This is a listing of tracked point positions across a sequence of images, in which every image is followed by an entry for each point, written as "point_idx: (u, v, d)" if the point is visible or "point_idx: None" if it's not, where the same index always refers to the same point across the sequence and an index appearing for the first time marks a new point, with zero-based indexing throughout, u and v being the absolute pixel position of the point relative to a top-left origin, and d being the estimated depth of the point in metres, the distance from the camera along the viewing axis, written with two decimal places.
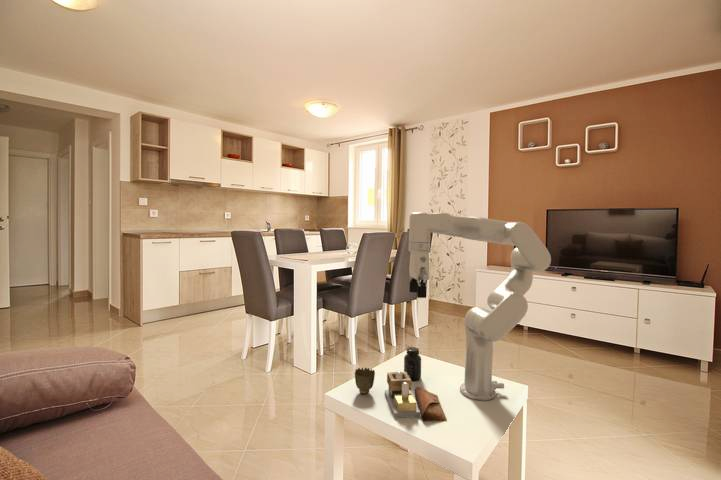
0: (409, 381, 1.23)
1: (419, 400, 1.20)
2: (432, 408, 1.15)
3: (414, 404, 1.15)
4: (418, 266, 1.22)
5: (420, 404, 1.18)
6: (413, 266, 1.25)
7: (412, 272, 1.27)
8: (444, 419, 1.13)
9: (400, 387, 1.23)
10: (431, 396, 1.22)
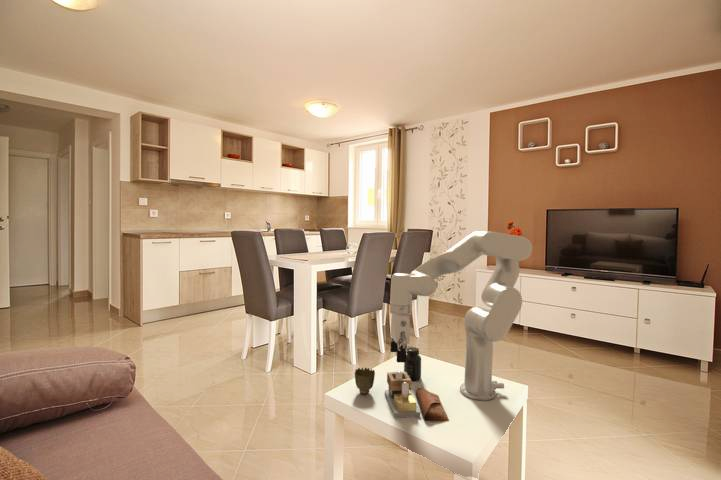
0: (409, 381, 1.23)
1: (421, 400, 1.20)
2: (434, 408, 1.15)
3: (414, 404, 1.15)
4: (398, 330, 1.20)
5: (422, 404, 1.17)
6: (394, 329, 1.23)
7: (393, 334, 1.25)
8: (446, 419, 1.13)
9: (400, 387, 1.23)
10: (432, 396, 1.22)
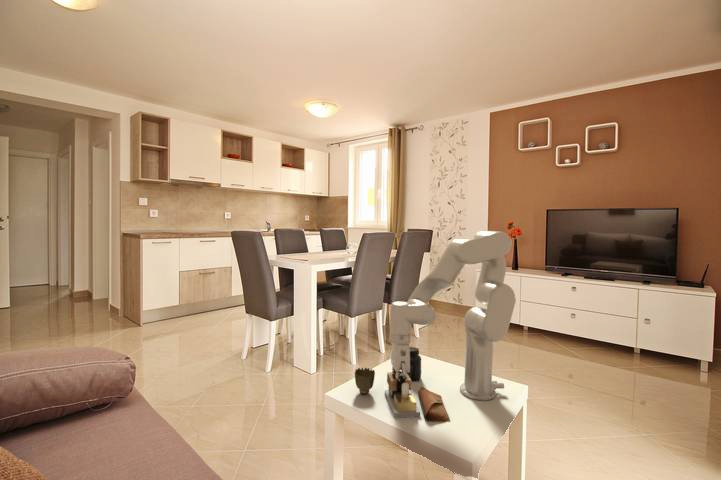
0: (409, 381, 1.23)
1: (422, 400, 1.20)
2: (435, 408, 1.15)
3: (414, 404, 1.15)
4: (398, 360, 1.21)
5: (423, 404, 1.17)
6: (394, 358, 1.24)
7: (393, 363, 1.25)
8: (447, 419, 1.13)
9: None
10: (434, 396, 1.22)
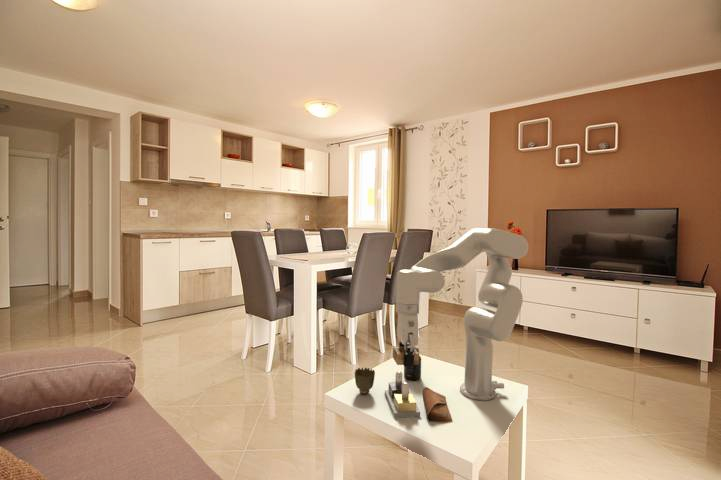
0: (417, 355, 1.14)
1: (425, 400, 1.20)
2: (438, 409, 1.15)
3: (414, 404, 1.15)
4: (406, 331, 1.11)
5: (426, 404, 1.17)
6: (400, 329, 1.14)
7: (400, 335, 1.16)
8: (450, 420, 1.12)
9: None
10: (438, 397, 1.22)
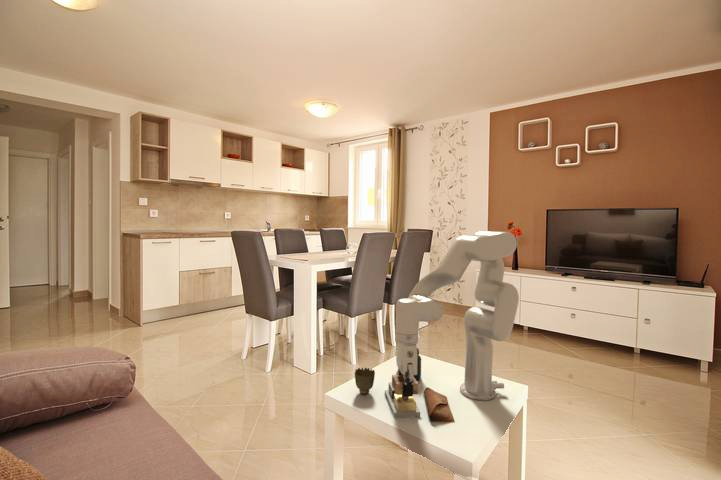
0: (416, 384, 1.14)
1: (427, 401, 1.20)
2: (440, 409, 1.15)
3: (414, 404, 1.15)
4: (405, 361, 1.12)
5: (428, 405, 1.17)
6: (400, 359, 1.15)
7: (399, 365, 1.16)
8: (452, 420, 1.12)
9: None
10: (440, 397, 1.22)
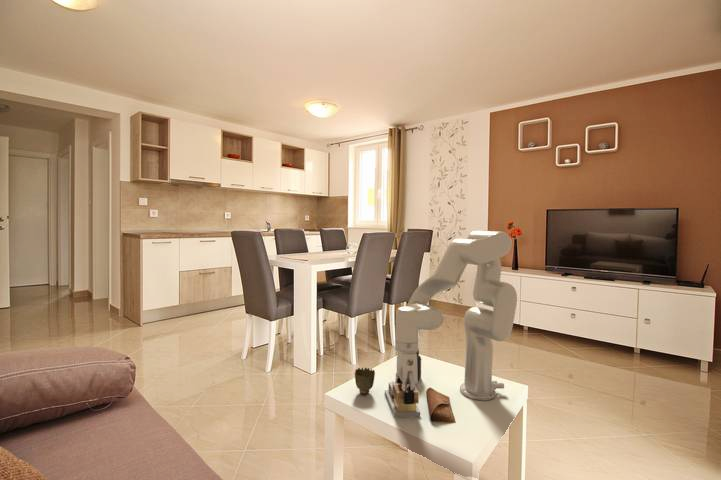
0: (416, 393, 1.14)
1: (429, 401, 1.20)
2: (441, 409, 1.15)
3: (414, 404, 1.15)
4: (405, 370, 1.12)
5: (429, 405, 1.17)
6: (400, 367, 1.15)
7: (399, 373, 1.16)
8: (453, 421, 1.12)
9: None
10: (441, 397, 1.22)
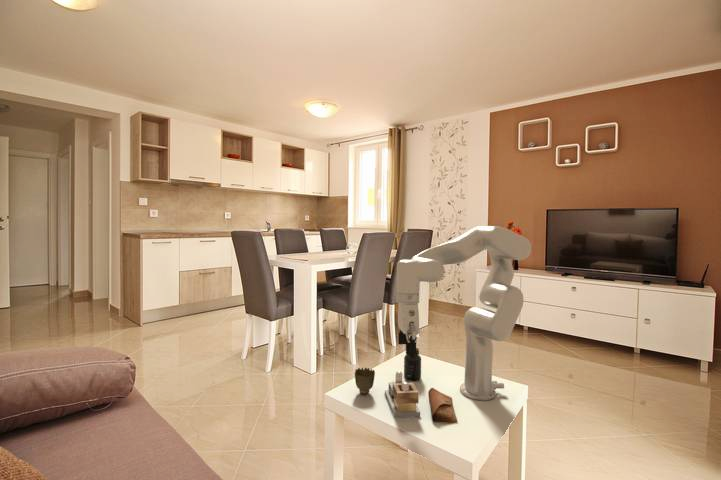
0: (416, 393, 1.14)
1: (431, 401, 1.20)
2: (443, 409, 1.14)
3: (414, 404, 1.15)
4: (407, 320, 1.12)
5: (431, 405, 1.17)
6: (401, 319, 1.15)
7: (400, 325, 1.16)
8: (455, 421, 1.12)
9: (407, 400, 1.14)
10: (444, 397, 1.21)
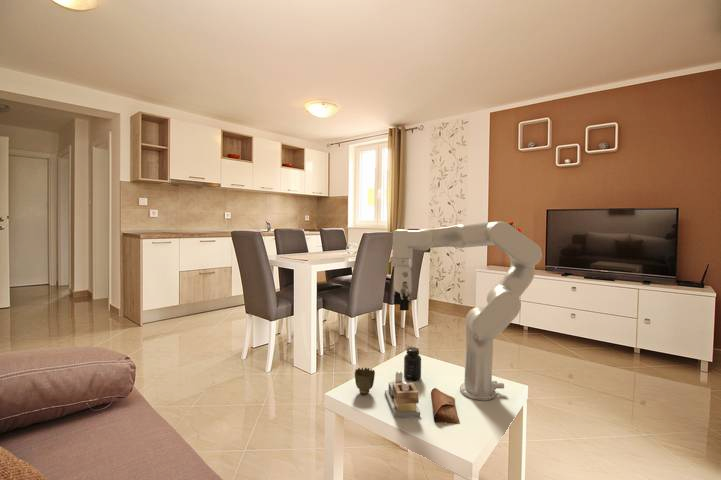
0: (416, 393, 1.14)
1: (433, 401, 1.20)
2: (445, 410, 1.14)
3: (414, 404, 1.15)
4: (401, 281, 1.30)
5: (433, 405, 1.17)
6: (396, 280, 1.33)
7: (395, 286, 1.34)
8: (457, 422, 1.11)
9: (407, 400, 1.14)
10: (446, 398, 1.21)
